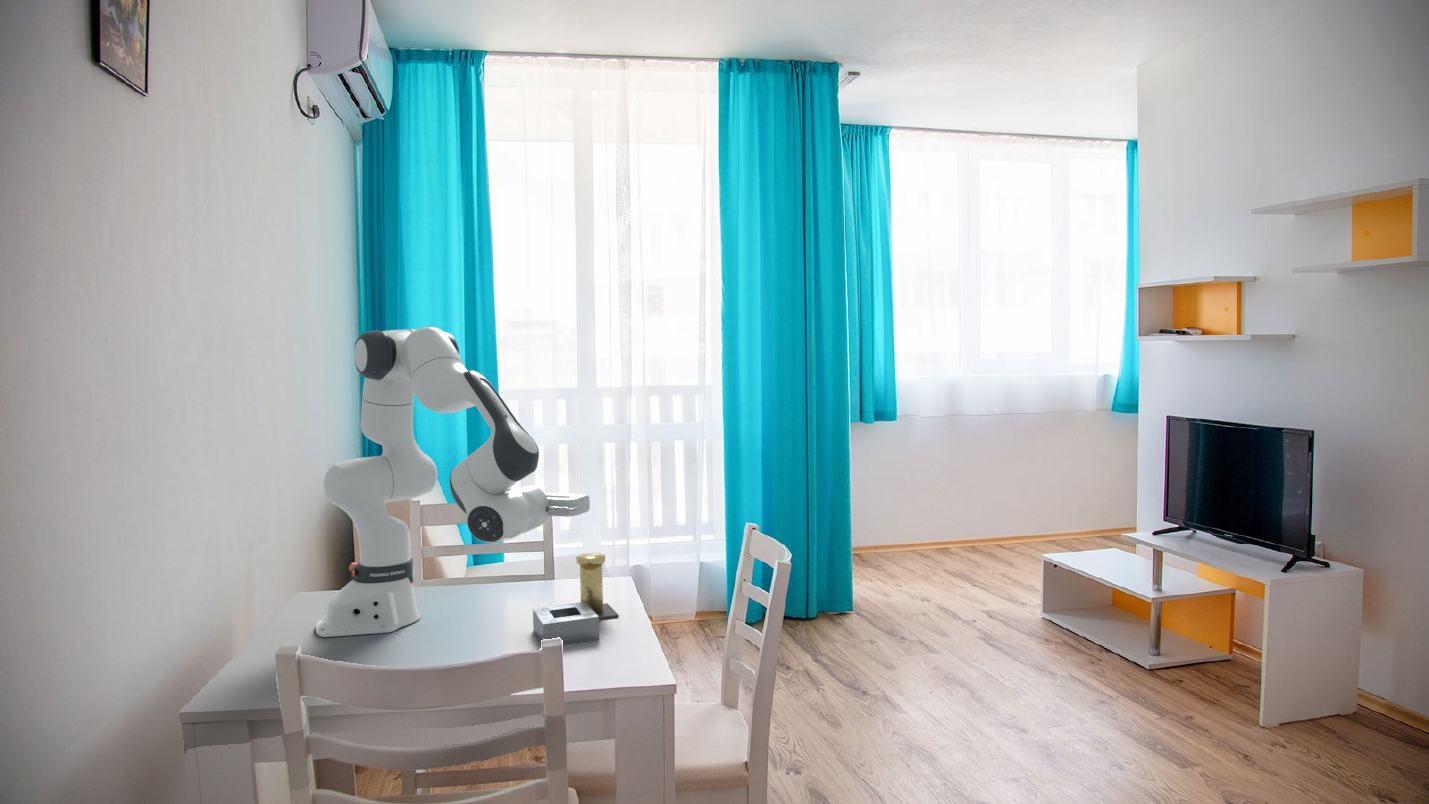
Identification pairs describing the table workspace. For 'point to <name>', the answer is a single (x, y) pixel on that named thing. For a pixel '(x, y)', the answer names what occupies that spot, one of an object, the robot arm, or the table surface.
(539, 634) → the housing
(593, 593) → the brass flanged peg
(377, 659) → the table surface
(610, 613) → the mat
